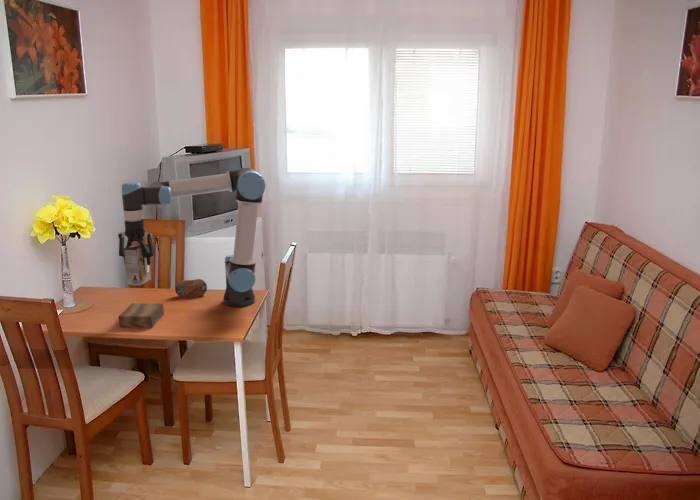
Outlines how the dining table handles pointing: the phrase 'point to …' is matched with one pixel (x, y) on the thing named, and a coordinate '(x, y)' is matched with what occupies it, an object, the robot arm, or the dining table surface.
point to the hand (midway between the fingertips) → (138, 271)
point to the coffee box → (136, 265)
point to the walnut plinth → (141, 315)
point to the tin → (191, 288)
